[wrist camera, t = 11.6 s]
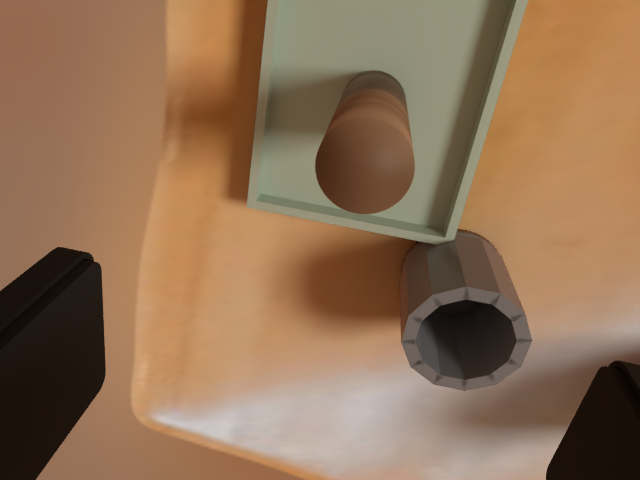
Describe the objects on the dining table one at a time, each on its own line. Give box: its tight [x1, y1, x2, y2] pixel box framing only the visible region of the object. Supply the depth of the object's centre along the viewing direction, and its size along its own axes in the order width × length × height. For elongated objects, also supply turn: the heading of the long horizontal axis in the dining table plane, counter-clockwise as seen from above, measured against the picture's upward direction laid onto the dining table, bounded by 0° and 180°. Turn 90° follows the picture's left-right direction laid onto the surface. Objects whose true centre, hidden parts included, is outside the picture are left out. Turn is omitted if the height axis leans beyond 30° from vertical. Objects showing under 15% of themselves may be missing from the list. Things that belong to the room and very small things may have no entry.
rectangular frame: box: [247, 0, 528, 245], centre depth 32 cm, size 16×14×2 cm
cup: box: [400, 229, 532, 391], centre depth 34 cm, size 7×7×8 cm
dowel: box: [315, 70, 415, 214], centre depth 27 cm, size 4×4×13 cm
